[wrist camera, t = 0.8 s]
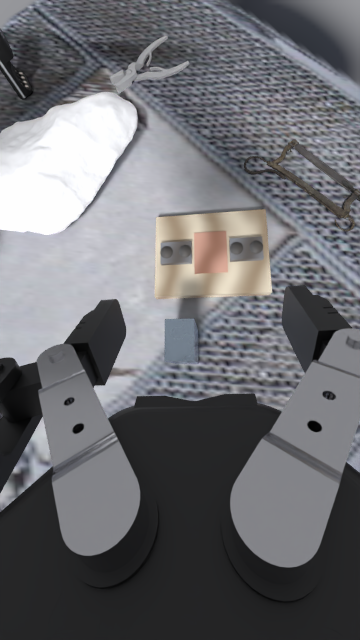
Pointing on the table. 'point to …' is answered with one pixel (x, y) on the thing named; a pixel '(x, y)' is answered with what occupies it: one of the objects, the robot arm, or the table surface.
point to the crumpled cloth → (61, 161)
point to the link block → (181, 341)
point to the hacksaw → (311, 191)
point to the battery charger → (12, 70)
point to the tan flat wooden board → (212, 255)
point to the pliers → (126, 78)
